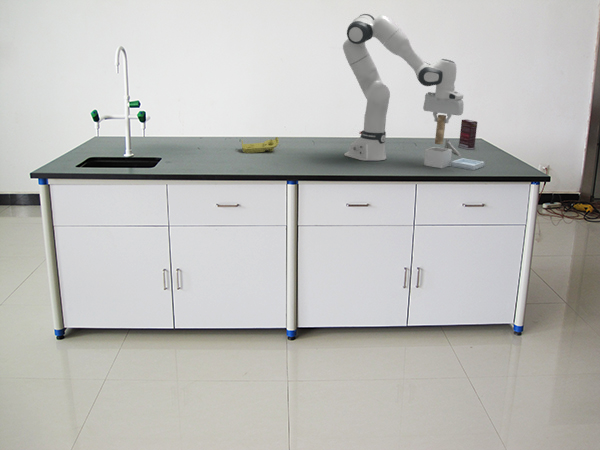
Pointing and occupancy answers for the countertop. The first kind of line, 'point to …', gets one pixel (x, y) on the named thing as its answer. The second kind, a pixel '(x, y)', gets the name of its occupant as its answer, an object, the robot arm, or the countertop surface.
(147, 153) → the countertop surface
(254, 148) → the plastic component
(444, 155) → the white open box
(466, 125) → the supplement box
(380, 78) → the robot arm
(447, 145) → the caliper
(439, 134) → the dowel
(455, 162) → the tray
